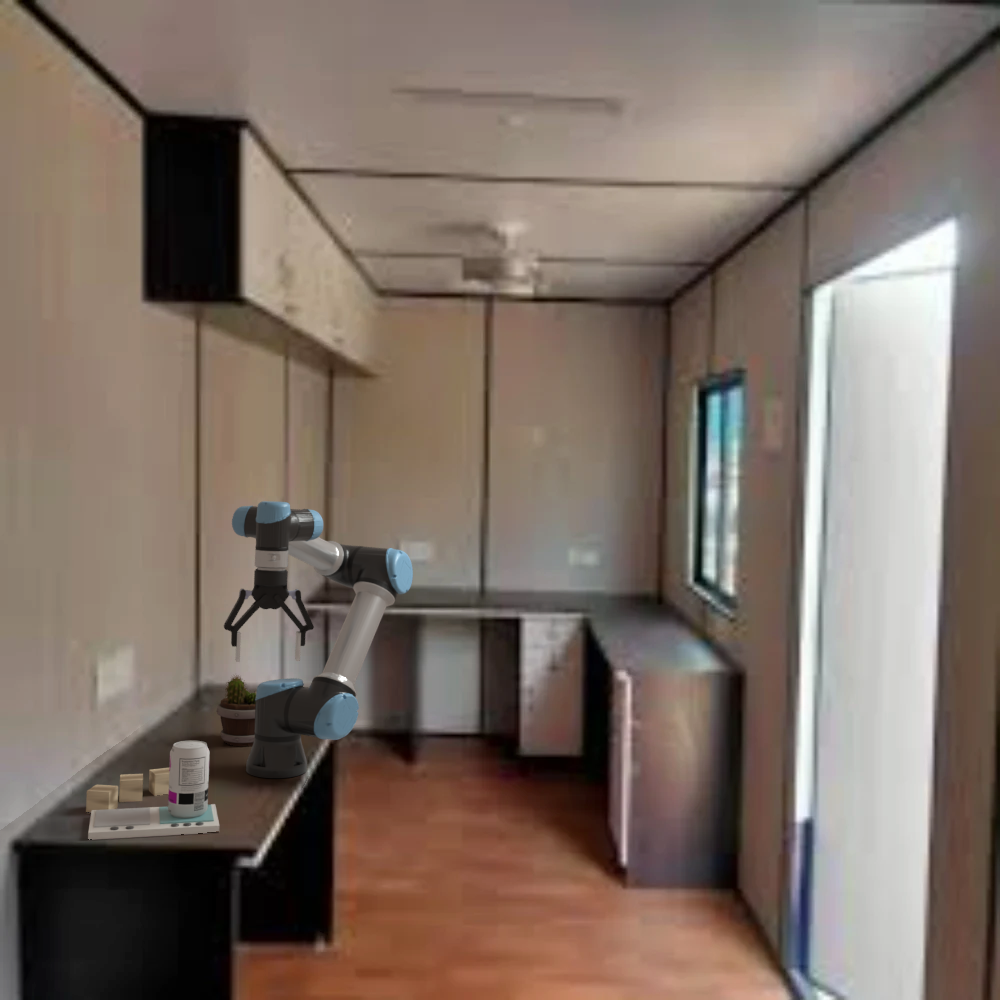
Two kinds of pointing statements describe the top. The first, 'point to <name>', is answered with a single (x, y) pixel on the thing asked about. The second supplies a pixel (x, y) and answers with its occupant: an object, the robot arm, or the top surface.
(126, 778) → the maple block
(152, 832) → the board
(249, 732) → the flowerpot
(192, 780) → the supplement can
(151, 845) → the top surface
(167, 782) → the maple block
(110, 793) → the maple block
